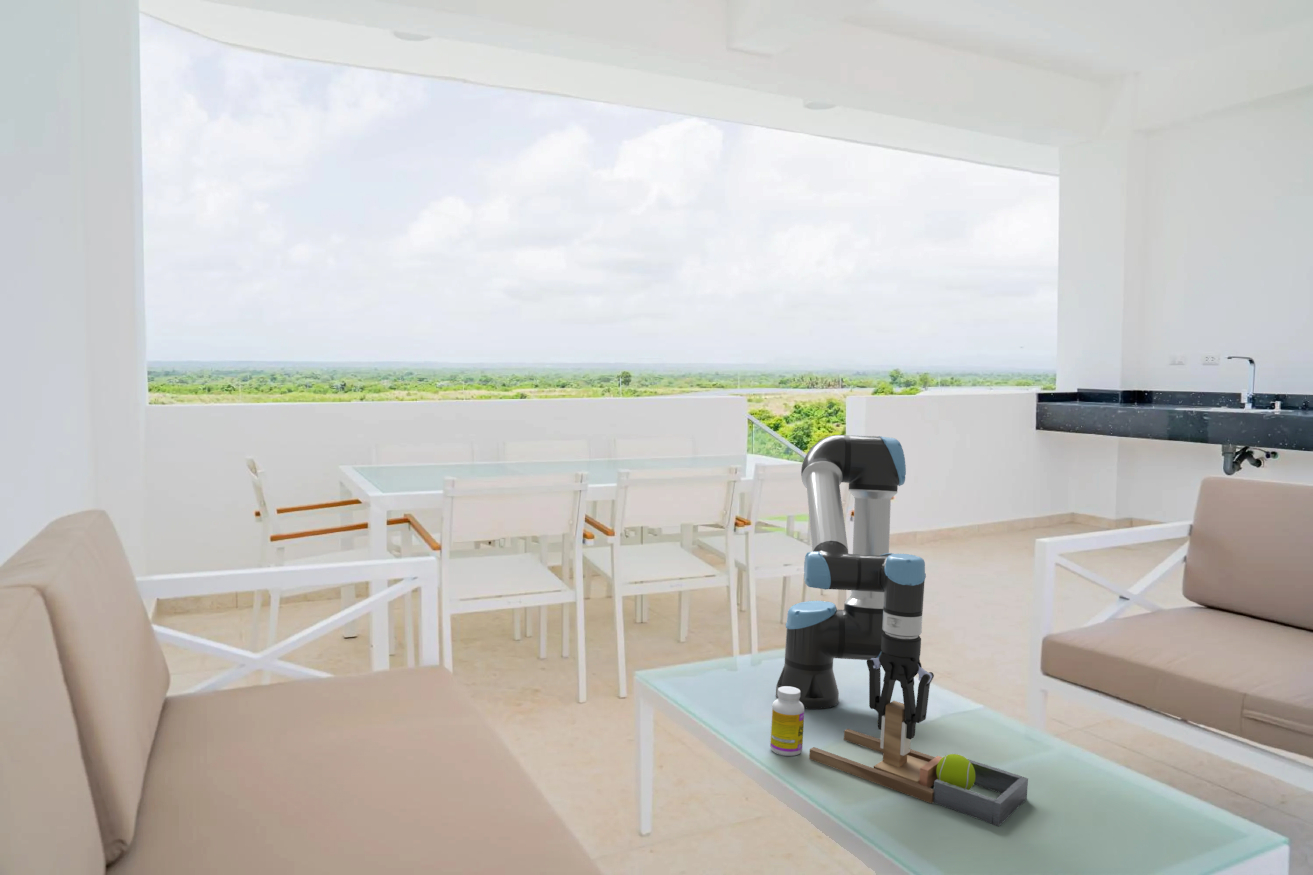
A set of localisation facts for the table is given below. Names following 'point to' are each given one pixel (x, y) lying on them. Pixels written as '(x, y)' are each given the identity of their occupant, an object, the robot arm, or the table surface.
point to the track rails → (872, 773)
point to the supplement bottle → (787, 722)
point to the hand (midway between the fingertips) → (895, 749)
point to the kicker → (905, 764)
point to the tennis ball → (956, 771)
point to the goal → (979, 804)
